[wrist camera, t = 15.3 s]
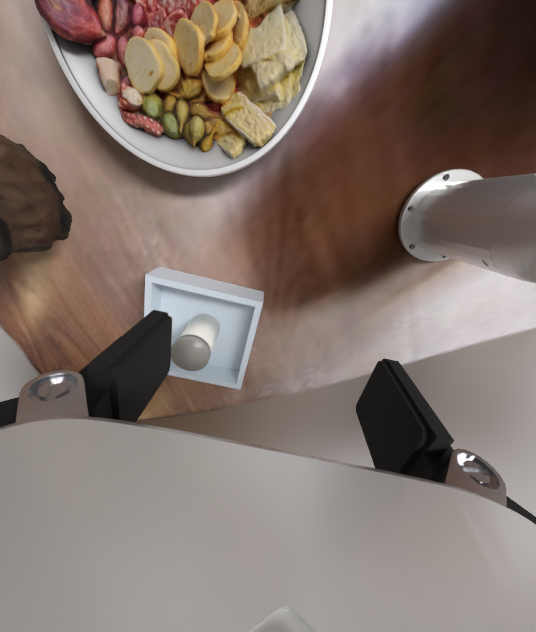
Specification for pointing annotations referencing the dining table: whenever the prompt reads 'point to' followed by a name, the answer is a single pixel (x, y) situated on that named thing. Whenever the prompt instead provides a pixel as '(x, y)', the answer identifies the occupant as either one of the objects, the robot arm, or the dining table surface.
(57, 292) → the dining table surface
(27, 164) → the owl
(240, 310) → the tote
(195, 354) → the canister
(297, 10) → the bowl
